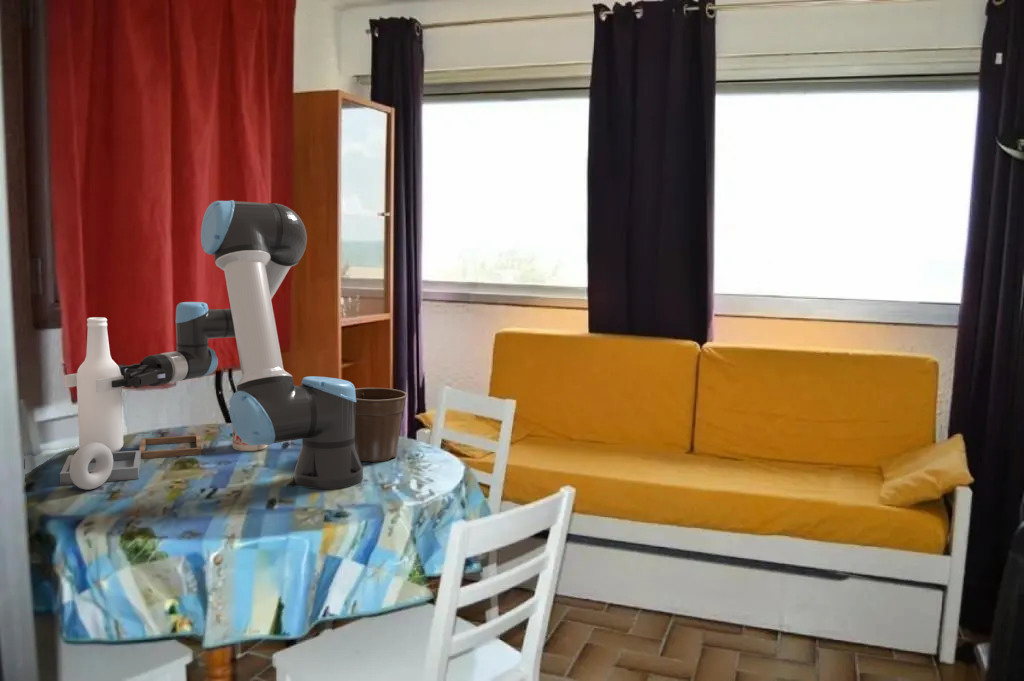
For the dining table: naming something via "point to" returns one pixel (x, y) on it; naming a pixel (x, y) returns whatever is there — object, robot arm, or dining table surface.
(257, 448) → the teacup with lid
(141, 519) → the dining table surface
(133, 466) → the tray
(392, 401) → the plant pot
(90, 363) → the alcohol
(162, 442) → the square wooden frame
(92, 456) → the donut
